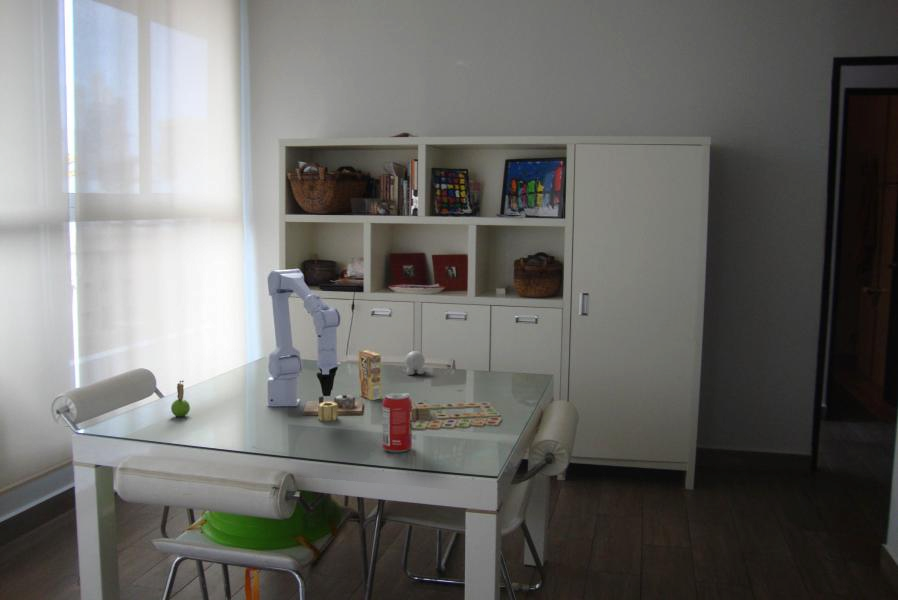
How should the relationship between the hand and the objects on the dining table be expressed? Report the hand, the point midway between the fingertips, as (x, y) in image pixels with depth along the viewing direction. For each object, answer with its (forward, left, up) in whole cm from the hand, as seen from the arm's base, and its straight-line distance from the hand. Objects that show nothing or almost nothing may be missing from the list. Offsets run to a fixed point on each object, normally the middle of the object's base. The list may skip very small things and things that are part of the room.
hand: (327, 392), depth 252 cm
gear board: (+1, +11, -8) cm, 14 cm away
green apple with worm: (-45, +4, -8) cm, 46 cm away
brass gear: (0, 0, -8) cm, 8 cm away
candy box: (+12, +27, -8) cm, 31 cm away
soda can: (+21, -32, -8) cm, 39 cm away
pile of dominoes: (+36, +1, -9) cm, 37 cm away
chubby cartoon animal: (+28, +66, -8) cm, 72 cm away
